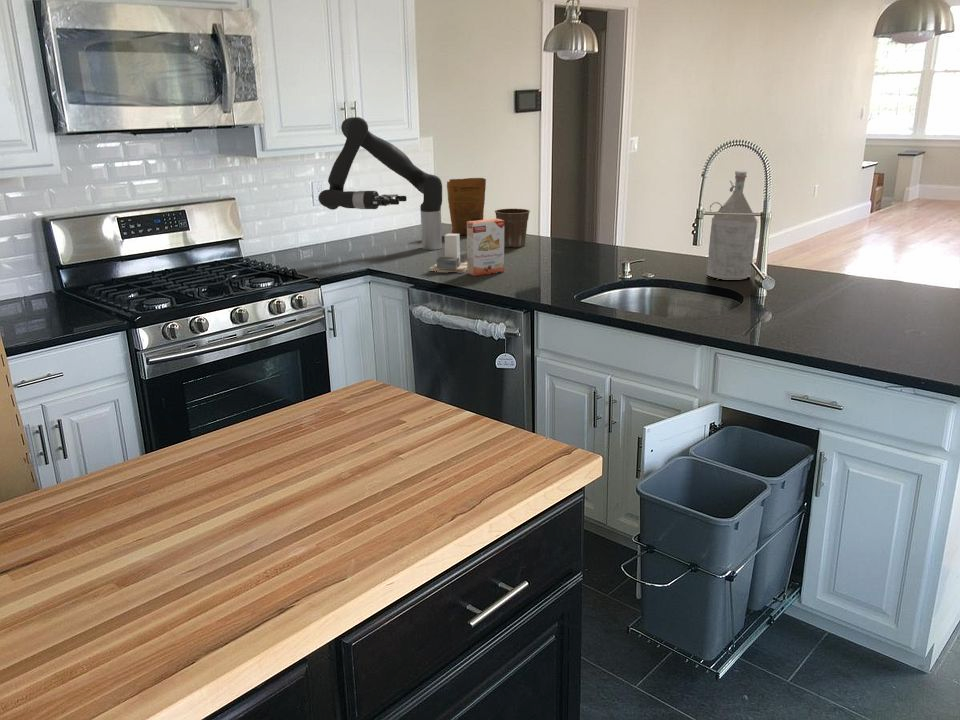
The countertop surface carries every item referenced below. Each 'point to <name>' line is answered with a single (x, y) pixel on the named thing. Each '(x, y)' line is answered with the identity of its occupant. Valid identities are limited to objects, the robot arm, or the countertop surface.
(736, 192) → the grey jug
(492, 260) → the cracker box
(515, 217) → the plant pot
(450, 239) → the white block
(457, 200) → the pancake mix bag
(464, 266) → the board
